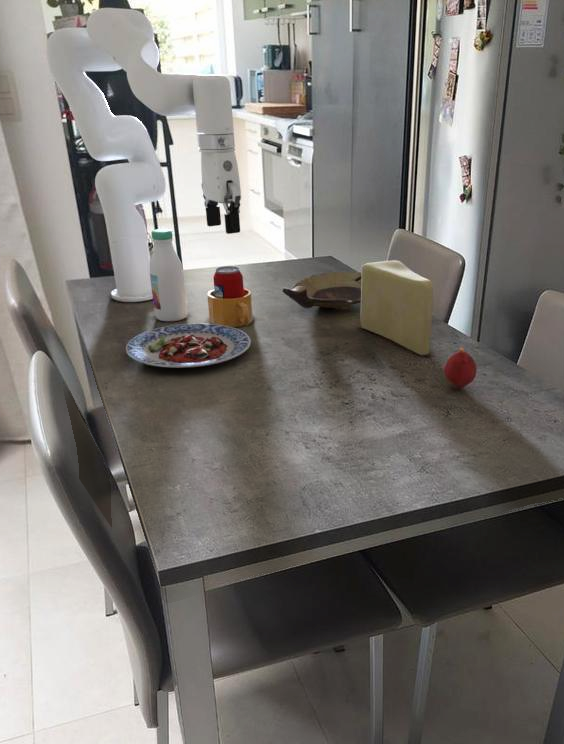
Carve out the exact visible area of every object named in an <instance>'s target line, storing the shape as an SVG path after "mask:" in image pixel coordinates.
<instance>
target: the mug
mask: <svg viewBox="0 0 564 744" xmlns="http://www.w3.org/2000/svg"><path fill="white" fill-rule="evenodd" d="M207 307H208V318H209V324H218V325H224V326H229V327H233V328H236V327H242V326H248V325H250V324H251V323H253V318H254V316H253V299H252V291H251V290H249V289H248V288H245V287H244V296H243V297H239V298H234V299H221V298H215V291H214V289H212V290H210V291H208V292H207Z"/></svg>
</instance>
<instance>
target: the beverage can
mask: <svg viewBox="0 0 564 744" xmlns="http://www.w3.org/2000/svg"><path fill="white" fill-rule="evenodd" d="M244 288H245V286H244V276H243V273H242V272H241V270H240V268H239V267H238V266H232V265H226V266H219V267H217V268H216V269H215V272H214V274H213V290H214V291H215V298H221V299H234V298H239V297H243V296H244Z"/></svg>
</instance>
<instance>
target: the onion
mask: <svg viewBox="0 0 564 744" xmlns="http://www.w3.org/2000/svg"><path fill="white" fill-rule="evenodd" d="M477 368H478V367H477V364H476V362H475V360H474V358H473V357H472V356H471V355H470V354H469V353H467V351H466V350H465V349H464V348H463V347H459V348H458V351H457V352H455V353H454V354H452V355H451V356H450V357H449V358H448V360H446V363H445V366H444V376H445V378H446V380H447V381H448V382H449V383H450V384H451V385H452V386H453V387H454V388H455V389H456V390H460V389H462V388H464V387H466V386H468V385H470V384H472V382H473V380H474V379H475V377H476V375H477V372H478V371H477Z"/></svg>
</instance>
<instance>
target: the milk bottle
mask: <svg viewBox="0 0 564 744" xmlns="http://www.w3.org/2000/svg"><path fill="white" fill-rule="evenodd" d="M151 241H152V243H153V250H152V254H151V256H150V279H151V287H152V295H153V299H152V301H153V308H154V316H155V318H156V319H157V320H159V321H161V322H176V321H177V322H178V321H181V320H184V319H186V318H187V317H188V315H189V312H188V310H189V309H188V302H187V293H186V284H185V277H184V270H183V265H182V262H181V259H180V257H179V255H178V254H177V252H176V250H175V247H174V244H173V241H174V239H173V231H172V229H168V228H158V229H154V230H152V231H151Z"/></svg>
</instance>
